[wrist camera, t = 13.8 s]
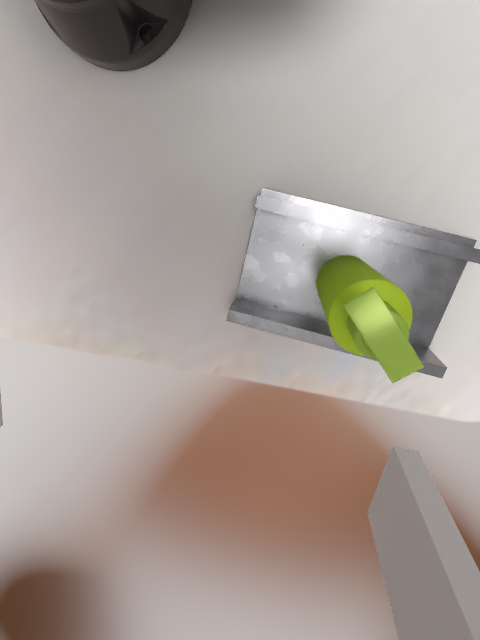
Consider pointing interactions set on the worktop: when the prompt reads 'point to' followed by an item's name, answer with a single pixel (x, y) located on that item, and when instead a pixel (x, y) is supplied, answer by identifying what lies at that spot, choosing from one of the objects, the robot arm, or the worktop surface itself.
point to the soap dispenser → (368, 314)
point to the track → (335, 240)
